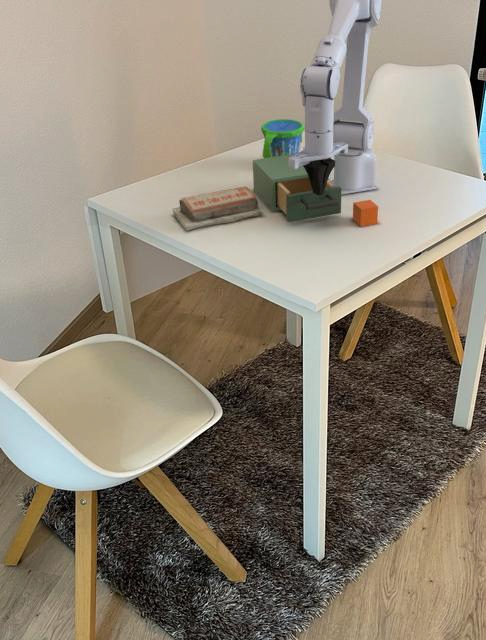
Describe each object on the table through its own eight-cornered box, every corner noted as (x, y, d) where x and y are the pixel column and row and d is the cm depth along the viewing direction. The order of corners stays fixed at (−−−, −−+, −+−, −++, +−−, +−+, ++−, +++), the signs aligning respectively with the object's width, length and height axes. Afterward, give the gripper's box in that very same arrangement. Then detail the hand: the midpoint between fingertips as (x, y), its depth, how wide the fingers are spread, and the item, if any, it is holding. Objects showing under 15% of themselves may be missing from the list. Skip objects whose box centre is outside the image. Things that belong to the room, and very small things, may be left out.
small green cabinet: (328, 202, 167) (328, 170, 163) (272, 212, 164) (271, 179, 159) (306, 182, 178) (306, 152, 173) (253, 190, 174) (252, 159, 170)
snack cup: (280, 177, 181) (279, 137, 175) (248, 169, 186) (246, 129, 181) (317, 160, 191) (317, 120, 185) (285, 152, 196) (285, 114, 191)
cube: (369, 216, 160) (370, 199, 158) (377, 223, 157) (378, 206, 155) (352, 219, 159) (353, 202, 157) (360, 226, 156) (361, 209, 154)
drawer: (349, 221, 156) (350, 195, 153) (296, 230, 153) (296, 204, 150) (319, 193, 170) (319, 169, 166) (269, 201, 166) (268, 176, 163)
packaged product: (244, 180, 167) (262, 195, 159) (245, 200, 169) (262, 216, 162) (169, 194, 161) (184, 210, 153) (172, 215, 163) (186, 232, 156)
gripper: (332, 117, 152) (331, 179, 160) (278, 132, 145) (279, 196, 153) (355, 125, 147) (353, 188, 155) (301, 140, 140) (301, 206, 148)
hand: (318, 193), depth 154 cm, fingers closed
